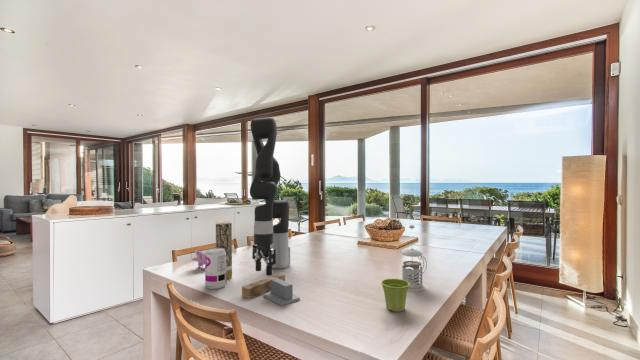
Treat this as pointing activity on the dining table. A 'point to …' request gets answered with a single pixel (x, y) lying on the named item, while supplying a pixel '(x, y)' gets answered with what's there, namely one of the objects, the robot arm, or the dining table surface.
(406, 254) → the french press
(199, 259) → the lily
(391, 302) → the plant pot
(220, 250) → the supplement can
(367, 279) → the dining table surface
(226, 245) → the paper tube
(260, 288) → the batten
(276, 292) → the ridge
